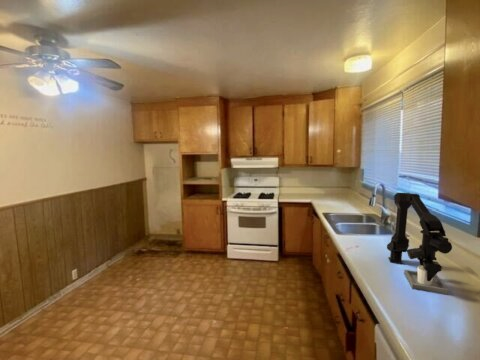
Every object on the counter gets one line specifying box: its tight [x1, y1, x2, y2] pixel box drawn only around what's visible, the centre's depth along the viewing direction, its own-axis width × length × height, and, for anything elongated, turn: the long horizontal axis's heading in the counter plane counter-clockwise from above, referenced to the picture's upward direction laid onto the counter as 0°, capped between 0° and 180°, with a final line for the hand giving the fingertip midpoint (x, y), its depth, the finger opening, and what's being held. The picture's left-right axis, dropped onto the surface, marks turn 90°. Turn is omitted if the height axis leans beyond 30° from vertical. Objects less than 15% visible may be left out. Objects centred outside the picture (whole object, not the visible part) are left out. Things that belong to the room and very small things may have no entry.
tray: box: [403, 269, 450, 295], centre depth 132 cm, size 16×14×2 cm
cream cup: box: [417, 264, 433, 285], centre depth 131 cm, size 7×7×7 cm
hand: (425, 276), depth 131 cm, fingers open, 9 cm apart
